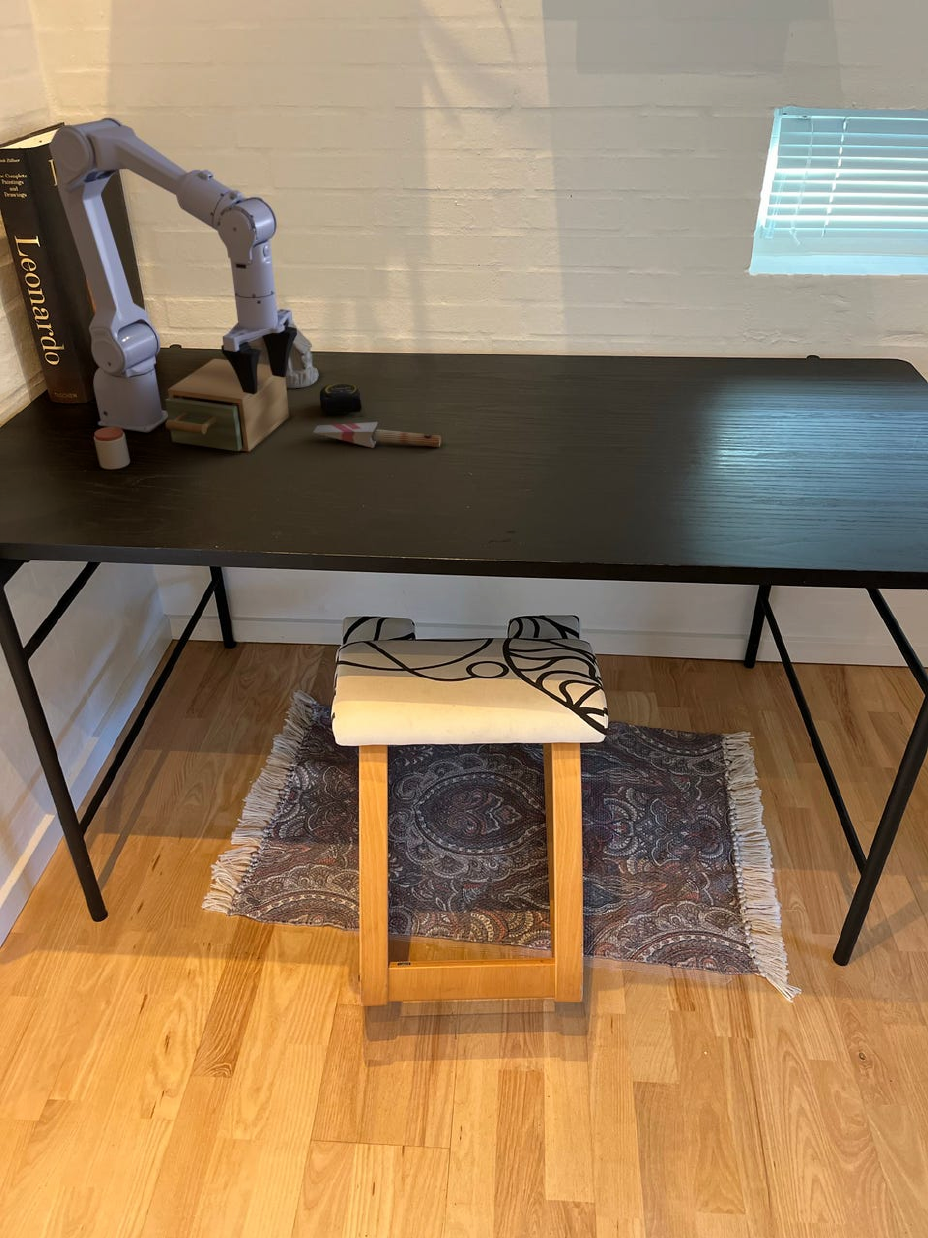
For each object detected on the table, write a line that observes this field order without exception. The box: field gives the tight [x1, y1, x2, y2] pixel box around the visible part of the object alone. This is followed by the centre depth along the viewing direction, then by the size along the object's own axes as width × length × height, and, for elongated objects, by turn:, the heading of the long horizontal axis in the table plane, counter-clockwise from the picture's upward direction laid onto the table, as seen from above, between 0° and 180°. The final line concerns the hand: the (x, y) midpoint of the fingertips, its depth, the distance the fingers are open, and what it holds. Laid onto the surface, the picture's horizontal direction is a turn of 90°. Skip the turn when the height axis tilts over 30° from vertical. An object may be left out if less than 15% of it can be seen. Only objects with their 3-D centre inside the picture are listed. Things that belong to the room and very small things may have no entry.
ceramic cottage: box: [249, 321, 319, 389], centre depth 172 cm, size 16×16×15 cm
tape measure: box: [319, 382, 363, 415], centre depth 160 cm, size 7×7×4 cm
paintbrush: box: [312, 421, 442, 449], centre depth 150 cm, size 4×3×20 cm
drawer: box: [164, 396, 243, 452], centre depth 148 cm, size 18×11×7 cm, turn 164°
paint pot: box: [93, 426, 131, 470], centre depth 142 cm, size 4×4×5 cm
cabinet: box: [167, 358, 290, 453], centre depth 152 cm, size 15×13×9 cm
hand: (264, 384), depth 143 cm, fingers open, 7 cm apart
